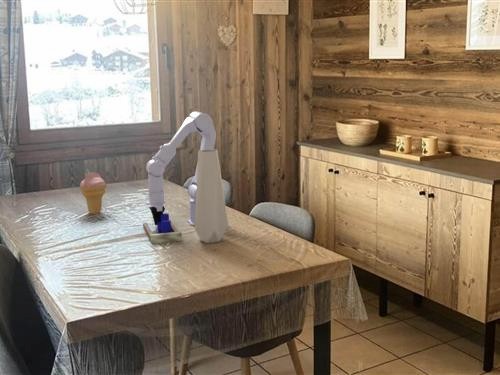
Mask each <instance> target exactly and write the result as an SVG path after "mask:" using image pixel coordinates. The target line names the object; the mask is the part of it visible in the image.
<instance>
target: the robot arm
mask: <svg viewBox="0 0 500 375" xmlns="http://www.w3.org/2000/svg"><path fill="white" fill-rule="evenodd" d="M214 126H215V125H214V120H213V119H212V118H211V116H210V115H209V114H208V113H205V112H200V111H197V110H195V111H192V112H191V113H189V115H188V117H186V118H185V119H184V121H183V123H182V125H181V126H180V127H179V129H178V130H177V131H176V133H175V135H174V136H173V137H172V138H171V140H170V141H169V142H168V143H164V144H163V145H160V146H159V150H158V152H156V154H155V155H154V156H152V157H151V159H150V160H148V162H147V163H146V166H145V170H146V172H147V173H148V176H147V177H148V178H147V180H148V185H147V186H148V201H146V203H145V204H146V205H147V206H149V207H148V208H149V210H150V213H151V215H152V219H153V224H154V225H155V226H157V221H161V214H164V212H165V210H166V208H165V206H164V205H165V203H166V202H165V193H164V192H165V191H164V190H165V188H164V179H163V178H164V173H165V171H166V167H167V166H168V165H169V163H170V162H171V160H173V158H174V157H175V155H176V154H177V148H178V146H180V145H181V144H182V142H183V141H184V140H185V139H186V138H187V137H188V135H189V134H191V133H195V132H199V134H200V135H201V136H202V138H201V143H200V147H199V148H200V149H199V150H204V149H215V145H216V140H217V132H216V128H215V127H214ZM197 168H198V161H197V164H196V168H195V174H194V176H193V177H192V179H191V182H190V184H189V185H188V187H187V193H188V195H189V196H190V199H189V218H190V219H187V221H188V222H189V224H190V225H191V226H195V213H196V190H197Z"/></svg>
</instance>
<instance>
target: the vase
mask: <svg viewBox="0 0 500 375" xmlns="http://www.w3.org/2000/svg"><path fill="white" fill-rule="evenodd" d="M197 162H198V168H197V190H196V213H195V225H194V230H195V232H196V234H197V237H198V238H199V241H201V242H203V243H206V244H211V243H219V242H221V241H222V238H223V237H224V234H225V232H226V231H227V229H228V227H229V221H228V213H227V207H226V200H225V193H224V186H223V185H224V184H223V180H222V174H221V173H222V172H221V171H222V170H221V165H220V159H219V151H218V149H215V148H214V149H204V150H200V149H199V150H198V152H197Z"/></svg>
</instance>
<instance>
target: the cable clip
mask: <svg viewBox="0 0 500 375" xmlns="http://www.w3.org/2000/svg"><path fill="white" fill-rule="evenodd" d="M171 221H172V220H171ZM171 221H170V214H169V213H167V212H166V213H163V214H161V221H157V225H156V227H157V234H161V233H171Z"/></svg>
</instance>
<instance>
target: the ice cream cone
mask: <svg viewBox="0 0 500 375" xmlns="http://www.w3.org/2000/svg"><path fill="white" fill-rule="evenodd" d="M85 170H86V172H87V173H84V176H85V178H83V180H82V181H81V182H80V184H79V189H80V190H81V195H82V196H83V198H85V200H86V205H87V206H86V207H87V211H88V213H89V214H90V215H99V214H101V212H102V204H103V203H102V202H103V197H104V195H105V193H106V188H107V183H106V181H105V180H104V179H103V178H102V177H101V174H99V173H98V172H96V171H94V172H90V171H89V169H88V167H87V166H86V165H85Z"/></svg>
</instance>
